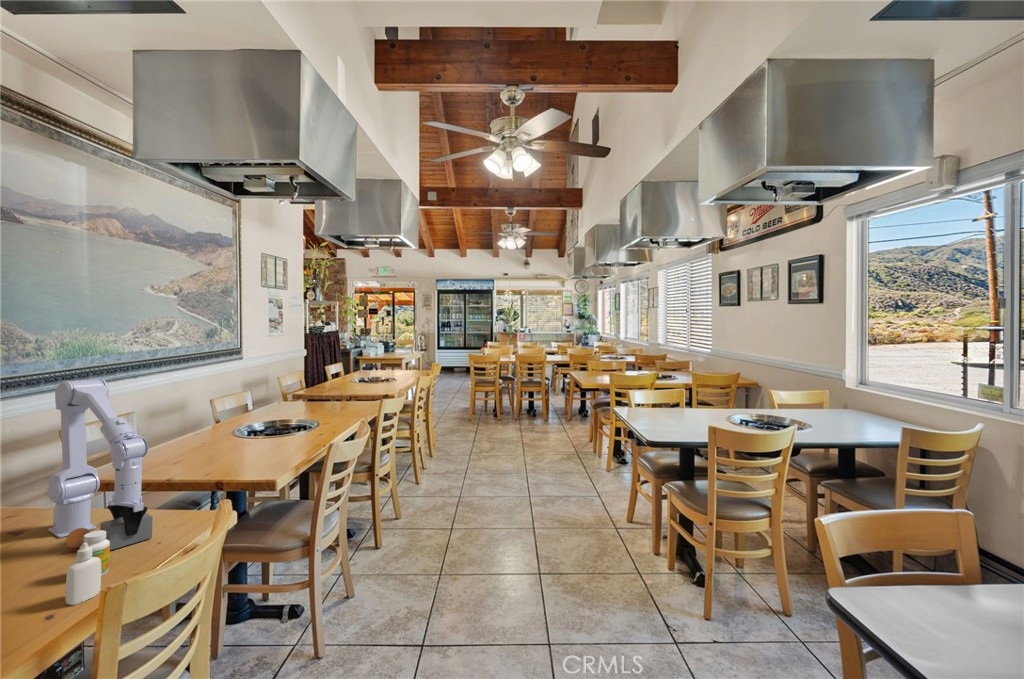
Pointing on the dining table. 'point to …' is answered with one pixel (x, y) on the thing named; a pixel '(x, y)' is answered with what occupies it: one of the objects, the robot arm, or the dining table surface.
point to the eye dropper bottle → (83, 577)
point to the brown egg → (76, 537)
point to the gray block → (118, 533)
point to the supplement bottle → (99, 548)
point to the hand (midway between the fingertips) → (126, 531)
